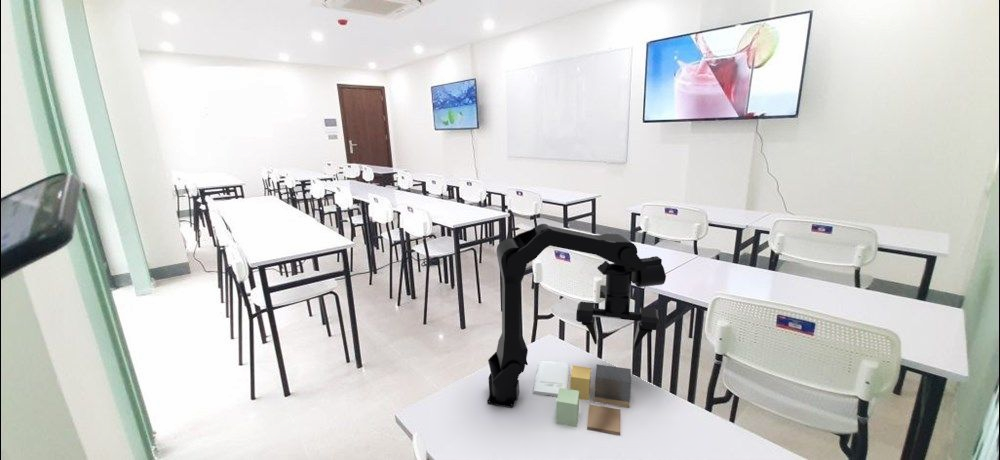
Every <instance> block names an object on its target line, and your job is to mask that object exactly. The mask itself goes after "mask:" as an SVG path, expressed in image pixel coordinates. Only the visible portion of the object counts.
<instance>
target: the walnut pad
mask: <svg viewBox="0 0 1000 460" xmlns="http://www.w3.org/2000/svg"><path fill="white" fill-rule="evenodd" d="M621 412H622V411H621V409H620V408H616V407H615V408H614V407H608V406H602V405H597V404H589V406H588V415H587V423H586V430H589V431H594V432H600V433H604V434H611V435H616V436H621V426H622V425H621V422H622V421H621V415H622V414H621Z"/></svg>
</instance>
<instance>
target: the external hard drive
mask: <svg viewBox="0 0 1000 460" xmlns="http://www.w3.org/2000/svg"><path fill="white" fill-rule="evenodd" d="M569 373H570V363H568V362H561V361H560V362H559V361H551V360H541V359H540V360H539V361H538V364H537V370H536V376H535V379H534V384H533V385H534V386H533V390H532V394H533V395H538V396H552V397H555V398H556V397H557V396H558V392H559V388H564V389H568V387H569V386H568V384H569V376H570V375H569Z"/></svg>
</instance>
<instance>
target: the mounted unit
mask: <svg viewBox="0 0 1000 460" xmlns="http://www.w3.org/2000/svg"><path fill="white" fill-rule="evenodd" d="M631 389H632V369H631V368H627V367H620V366H619V367H618V366H612V365H606V364H605V365H604V364H598V363H597V364H596V367H595V378H594V397H593V398H594V400H593V402H594V403H600V404H605V405H611V406H618V407H625V408H630V407H631V406H630V404H631V392H632V391H631Z"/></svg>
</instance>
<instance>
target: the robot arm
mask: <svg viewBox="0 0 1000 460" xmlns="http://www.w3.org/2000/svg"><path fill="white" fill-rule="evenodd" d="M548 247H554V248H559V249H565V250H568V251H575V252H580V253H584V254H590V255H594V256H598V257H600V258H602V259H604V260H603V262H602V264H600V265H598V266H597V271H599V272H600V274H602V275H603V276H605V285H603V284H602V285H600V287H599V299H604V308H598V307H597V308H596V307H595V302H590V301H579V302H578V304H577V308H576V314H575V315H576V316H575V317H576V319H575V320H576V321H577V322H578V323H581V325H583V326H585V327H586V329H587V330H588V332H589V333H590V336H591V339H592V340H593V342H594V345H597V343H598V333H597V323H596V318H606V319H615V320H625V321H636V322H637V323H636V324H637V325H636V329H635V333H634V340H633V349H634V350H636V349H637V347H638V346H639V344H640V343H641V341H642V339H644V337H645V336H646V335H647V334H649V333H650V334H651V333H652V332H653V331H657V330H659V327H660V317H659V311H658V310H657V309H656V308H653V307H640V309H639V312H635V311H630V310H631V309H630V308H631V307H630V306H631V293H632V283H633V284H634V285H635V286H636V287H637V288H644V287H645V288H646V287H655V286H662V285H664V284H665V282H666V278H667V274H666V273H665V272H666V271H665V268H664V266H663V264H662V261H663V259H662V258H661V257H659V256H651V257H644V258H641V257H639V255H638V248H637V246H636V244H635V243H633V242H632V241H630V239H627V237H625V236H623V235H621V234H618V233H604V234H600V235H599V234H598V235H597V234H591V233H586V232H585V233H584V232H581V231H576V230H572V229H565V228H561V227H555V226H552V225H549V224H547V223H539V224H538V225H536V226H534V227H533V228H531V229H529V230H526V231H523V232H521V233H518V234H516V235H515V236H513V237H511V238H507V239H506V238H505V239H504V240H502V241H501V242H500V243H498V244H497V247H496V258H497V261H498V267H499V272H500V276H501V310H502V311H501V334H500V337H499V339H498V341H497V342H498V343H497V346H496V351H495V352H494V354H492V355H491V356H490V357H489V358H488V360H487V361H488V366H489V370H490V371H489V372H490V373H489V375H488V394H489V395H488V396H489V397H488V398H487V404H488V405H489V404H490V405H495V406H501V407H506V408H514V406H515V404H516V401H518V399H519V397H520V380H519V377H520V375H521V374H522V373H524V371H525V368H526V366H528V365H529V363H528V360H527V357H528V352H529V351H528V346H527V344H526V342H525V338H524V336H523V335H520V333H521V332H520V330H521V327H520V325H521V324H520V323H521V322H520V321H521V284H522V281H523V280H524V277H525V274H526V271H527V266H528V264H529V263H531V262H533V261H534V260H535V259H536V258H537V257H539V255H540V254H541V253H542V252H543V251H544V250H545V249H547V248H548ZM609 262H610V263H609Z"/></svg>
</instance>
